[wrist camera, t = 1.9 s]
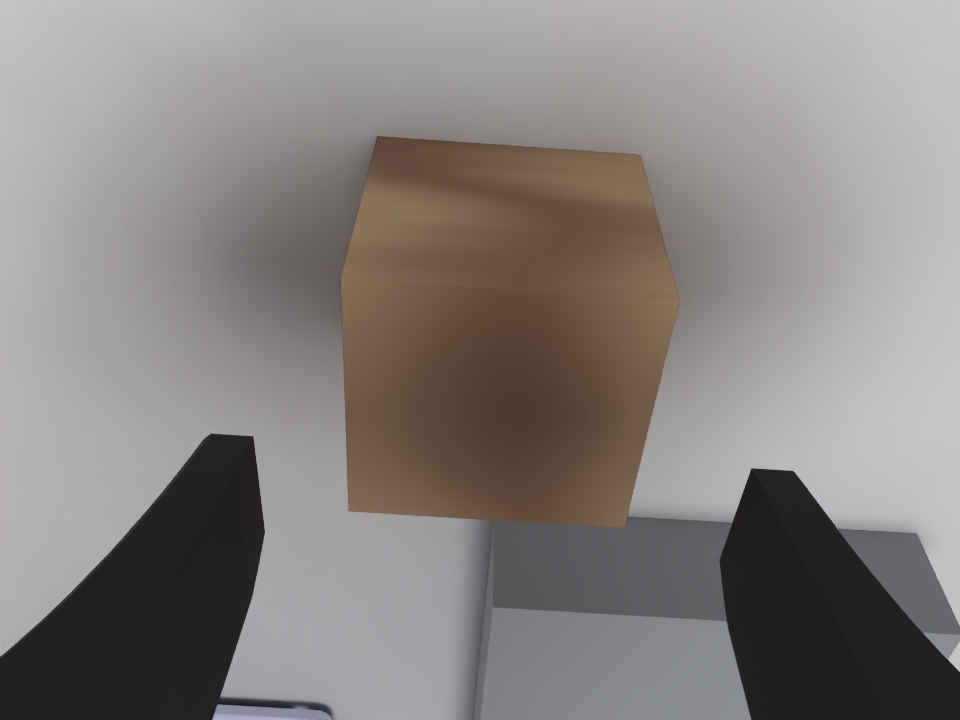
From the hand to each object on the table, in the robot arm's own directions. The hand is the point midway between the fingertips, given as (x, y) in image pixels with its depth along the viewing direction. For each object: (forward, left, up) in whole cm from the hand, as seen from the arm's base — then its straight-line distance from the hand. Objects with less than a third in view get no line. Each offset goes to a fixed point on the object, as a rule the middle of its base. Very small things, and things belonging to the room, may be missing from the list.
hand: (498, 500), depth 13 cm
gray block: (+6, -13, -7) cm, 16 cm away
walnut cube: (0, 0, -7) cm, 7 cm away
